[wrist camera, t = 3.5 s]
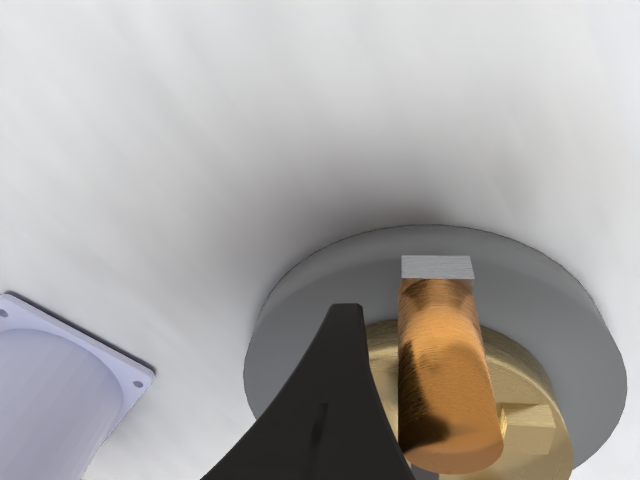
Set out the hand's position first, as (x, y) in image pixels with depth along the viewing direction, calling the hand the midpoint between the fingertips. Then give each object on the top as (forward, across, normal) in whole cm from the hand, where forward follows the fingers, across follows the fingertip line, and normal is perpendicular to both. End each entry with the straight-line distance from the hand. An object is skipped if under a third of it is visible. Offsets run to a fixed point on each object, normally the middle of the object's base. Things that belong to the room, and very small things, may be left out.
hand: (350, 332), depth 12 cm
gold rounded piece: (+4, -2, +6) cm, 7 cm away
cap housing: (+6, -2, +8) cm, 10 cm away
